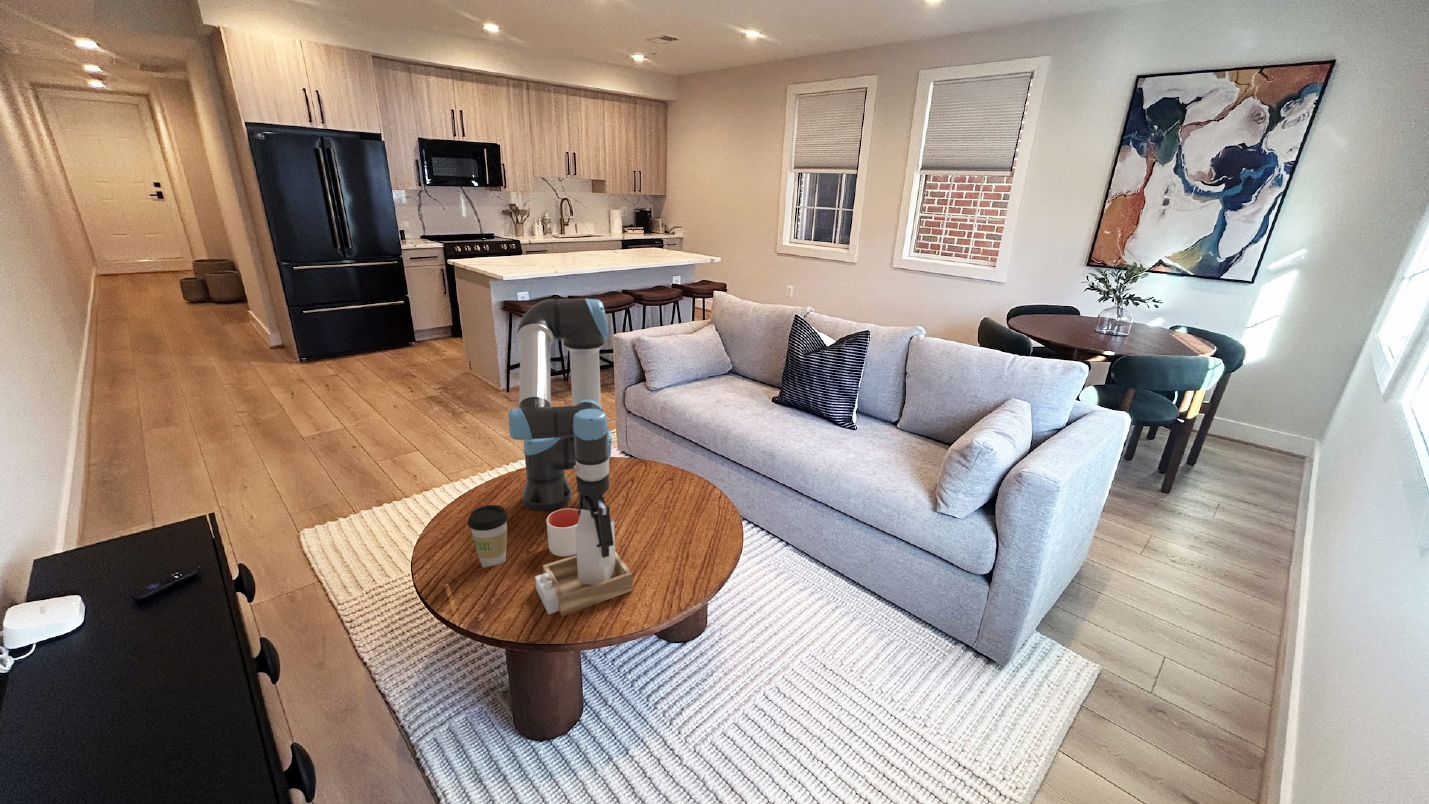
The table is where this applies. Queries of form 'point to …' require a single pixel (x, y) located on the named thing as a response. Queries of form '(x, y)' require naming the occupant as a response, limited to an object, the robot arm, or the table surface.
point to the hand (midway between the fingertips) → (596, 554)
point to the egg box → (547, 593)
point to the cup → (562, 532)
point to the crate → (582, 593)
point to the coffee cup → (489, 534)
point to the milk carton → (591, 551)
